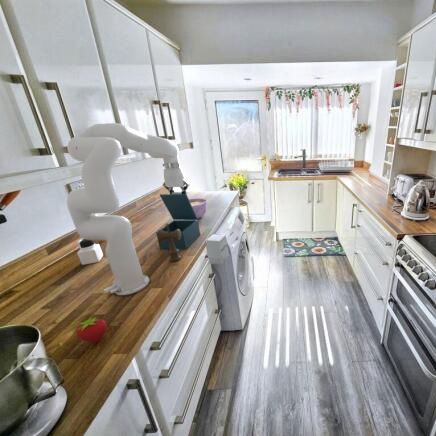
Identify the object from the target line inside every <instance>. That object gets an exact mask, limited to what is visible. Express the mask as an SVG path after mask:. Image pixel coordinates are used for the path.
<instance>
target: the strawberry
mask: <svg viewBox="0 0 436 436" xmlns="http://www.w3.org/2000/svg"><path fill="white" fill-rule="evenodd" d="M78 324H79V327H77V329H76V330H75V331H76V332H75V333H76V337H77V338H78V339H80V340H81V341H83V342H88V343H94V344H96V343H99V342H101V340H102V338H103V337H104V336H105V334H106V332H107V330H108V323H107V322H106V320H104V319H100V318H98V317H97V316H96V317H93V318H92V317H91V316H90V317H89V318H88V319H84V321H83V322H80V323H78Z"/></svg>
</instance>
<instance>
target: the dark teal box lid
mask: <svg viewBox="0 0 436 436" xmlns="http://www.w3.org/2000/svg"><path fill="white" fill-rule="evenodd" d="M159 197H160V199H161V201H162V202H163V204H164V206H165V208H166V209H167V212H168V213H169V215H170V217H171V218H172V221H173V220H198V219H199V218H197V216H196V214H195V212H194V210H193V207H192V205H191V203H190V201H189V199H190V198H189V196H188V194H187V193H186V194H182V191H181V192H179V191H178V192H175V191H174V192H173V193H172V194H170V193H163V194H162V193H160V194H159Z"/></svg>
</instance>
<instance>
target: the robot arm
mask: <svg viewBox="0 0 436 436" xmlns="http://www.w3.org/2000/svg"><path fill="white" fill-rule="evenodd" d="M66 148H67V153H68V154H69V156H70V157H71V158H72V159H74V160H75V161H78V162H82V163H83V164H82V166H81V170H80V175H81V179H82V184H83V187H77V188H74V189H72V190H71V191H70V192H69V193H68V195H67V198H66V205H67V209H68V212H69V215H70V217H71V220H72V223H73V225H74V229H75V231H76V232H77V234H78V235H79V236H80V238H81V239H83V238H84V239H87V240H94V241H105V242H106V243H107V244H106V246H105V251H104V252H105V256H106V259H107V261H108V264H109V266H110V269H111V272H112V275H113V278H114V280H112V283H113V284H111V285H110V286H108V287H106V288H104V289H102V292H103V293H104V295H108V294H109V293H110V294H114V293H115V295H118V296H129V295H133V294H136V293H138V292H140V291H142V290H143V289H145V288H146V287H147V286H148V285H149V283H150V278H149V276H148V275H145V274H144V273H143V269H142V267H141V263H140V260H139V256H138V253H137V250H136V247H135V244H134V240H133V232H132V231H133V230H132V229H133V228H132V223H131V221H130V219H128V218H127V217H125V216H122V215H118V214H111V213H114V212H116V211H117V210H119V208H120V199H119V195H118V192H117V189H116V186H115V182H114V178H113V168H114V165H115V164H116V162H117V161H118V159H119V158H120V156H121V154H122V148H124V149H127V150H131V151H134V152H136V153H142V154H147V155H148V156H150V157H151V158H152V159H162V160H163V163H162V167H164V168H163V179H164V182H163V183H162V186H163V187H164V188H165V189H166V190H167V191H168V192H169V194H172V193H173V192H175V190H174V188H180V190H181V192H182V194H187V189H188V188H189V187H190V186H191V184H190V182H188V181H187V180H186V177H185V173H184V171H183V168H182V167H181V164H180V158H179V152H180V149H179V147H178V145H177V144H176V142H174V141H172V140H170V139H168V138H164V137H160V136H156V135H152V134H149V133H144V132H141V131H139V130H137V129H134V128H131V127H129V126H128V125H125V124H123V123H118V122H108V123H96V124H92V125H90V126H89V127H87V128H86V129H84V130H82V131H81V132H79V133H78V134H76V135H75V136H73V137H72V138H71V139H69V141H68V143H67V146H66ZM99 214H104V215H99ZM106 214H107V215H106Z"/></svg>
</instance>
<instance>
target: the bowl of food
mask: <svg viewBox="0 0 436 436" xmlns="http://www.w3.org/2000/svg"><path fill="white" fill-rule="evenodd" d="M188 199H189V201H190V203H191V205H192V207H193V210H194V212H195V214H196V216H197V218H198V219H200V218H202V217H203V216H204V215H205V214H206V213H207V208H208V199H206V198H201V197H200V198H198V197H197V198H196V197H195V198H188Z"/></svg>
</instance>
